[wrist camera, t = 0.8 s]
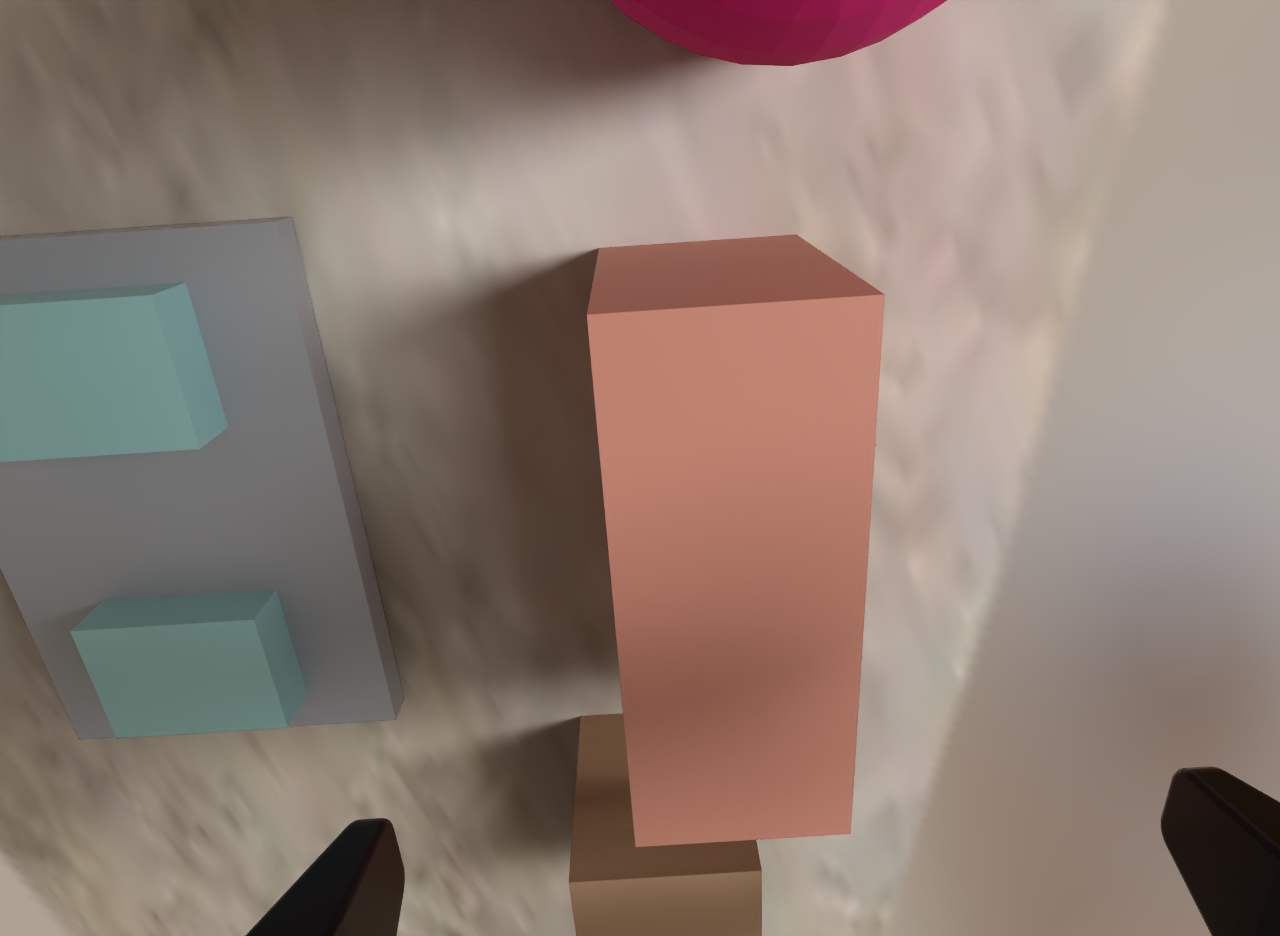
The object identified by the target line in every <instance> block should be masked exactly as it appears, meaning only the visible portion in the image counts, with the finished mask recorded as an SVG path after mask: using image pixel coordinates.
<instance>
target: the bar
mask: <svg viewBox="0 0 1280 936" xmlns="http://www.w3.org/2000/svg"><path fill="white" fill-rule="evenodd" d="M884 297H885V294H883V293H882V292H880V291H879V290H877V289H876V288H874V287H873V286H871V285H870V284H868V283H867V282H865V281H864V280H862V279H861V278H859V277H858V276H857V275H855V274H854V273H852V272H851V271H849V270H848V269H846V268H845V267H843V266H842V265H840V264H839V263H837V262H836V261H834V260H833V259H831V258H830V257H828V256H827V255H826V254H824V253H823V252H821V251H820V250H818V249H817V248H815V247H814V246H812V245H811V244H809V243H808V242H806V241H805V240H803V239H802V238H800V237H799V236H798V235H785V236H771V237H756V238H741V239H726V240H712V241H697V242H682V243H668V244H653V245H638V246H624V247H609V248H599V251H598V256H597V262H596V267H595V273H594V278H593V283H592V289H591V294H590V300H589V305H588V310H587V323H588V334H589V345H590V356H591V367H592V378H593V389H594V400H595V411H596V422H597V432H598V443H599V454H600V465H601V476H602V487H603V498H604V509H605V520H606V531H607V541H608V552H609V563H610V574H611V585H612V596H613V607H614V618H615V629H616V640H617V650H618V661H619V672H620V683H621V694H622V705H623V716H624V727H625V738H626V749H627V760H628V770H629V781H630V792H631V803H632V814H633V825H634V836H635V847H646V846H662V845H678V844H694V843H711V842H727V841H743V840H759V839H775V838H791V837H807V836H824V835H840V834H851V819H852V803H853V788H854V772H855V756H856V740H857V724H858V708H859V692H860V677H861V661H862V645H863V629H864V613H865V597H866V582H867V566H868V550H869V534H870V518H871V502H872V487H873V471H874V455H875V439H876V423H877V407H878V392H879V376H880V360H881V344H882V328H883V312H884Z"/></svg>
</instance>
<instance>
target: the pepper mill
mask: <svg viewBox="0 0 1280 936" xmlns="http://www.w3.org/2000/svg"><path fill="white" fill-rule="evenodd" d="M610 1H611V2H612V3H614V4H615V5H616V6H617V7H618V8H619V9H620V10H621V11H622V12H624V13H625V14H626V15H627V16H628V17H630V18H631V19H633V20H635V21H636V22H638V23H639V24H641V25H642V26H644V27H646V28H647V29H649V30H650V31H652V32H653V33H655V34H656V35H658V36H660V37H661V38H663V39H665V40H667V41H669V42H672V43H674V44H676V45H679V46H681V47H684V48H686V49H688V50H691V51H693V52H695V53H698V54H700V55H703V56H707V57H712V58H716V59H721V60H725V61H729V62H734V63H738V64H746V65H777V66H794V65H799V64H804V63H809V62H815V61H820V60H825V59H831V58H836V57H841V56H843V55H846V54H849V53H851V52H854V51H856V50H859V49H862V48H864V47H867V46H869V45H872V44H875V43H877V42H880V41H882V40H884V39H885V38H887V37H889V36H891V35H892V34H894V33H896V32H897V31H899V30H901V29H903V28H904V27H906V26H908V25H910V24H911V23H913V22H915V21H916V20H918V19H920V18H922V17H923V16H924V15H926V14H927V13H929V12H930V11H932V10H933V9H935V8H936V7H938V6H939V5H941V4H942V3H944V2H945V1H947V0H610Z"/></svg>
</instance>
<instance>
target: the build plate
mask: <svg viewBox="0 0 1280 936" xmlns="http://www.w3.org/2000/svg"><path fill="white" fill-rule="evenodd" d="M0 569H1V571H2V573H3V575H4V577H5V580H6V582H7V584H8V586H9V588H10V590H11V593H12V595H13V597H14V599H15V601H16V604H17V606H18V608H19V610H20V612H21V614H22V617H23V619H24V621H25V623H26V625H27V628H28V630H29V632H30V634H31V636H32V638H33V641H34V643H35V645H36V647H37V649H38V652H39V654H40V656H41V658H42V660H43V662H44V665H45V667H46V669H47V671H48V673H49V676H50V678H51V680H52V682H53V684H54V686H55V689H56V691H57V693H58V695H59V697H60V700H61V702H62V704H63V706H64V708H65V710H66V713H67V715H68V717H69V719H70V721H71V724H72V726H73V728H74V730H75V732H76V734H77V737H78V739H79V740H81V739H97V738H113V737H116V738H131V737H147V736H163V735H179V734H195V733H211V732H226V731H242V730H258V729H274V728H288V727H289V726H304V725H320V724H336V723H352V722H368V721H384V720H396V718H397V716H398V713H399V710H400V708H401V705H402V702H403V700H404V696H403V691H402V687H401V683H400V679H399V674H398V670H397V666H396V662H395V657H394V653H393V649H392V644H391V640H390V636H389V632H388V627H387V623H386V619H385V614H384V610H383V606H382V602H381V597H380V593H379V589H378V584H377V580H376V576H375V572H374V567H373V563H372V559H371V554H370V550H369V546H368V542H367V537H366V533H365V529H364V524H363V520H362V516H361V512H360V507H359V503H358V499H357V495H356V490H355V486H354V482H353V477H352V473H351V469H350V465H349V460H348V456H347V452H346V447H345V443H344V439H343V435H342V430H341V426H340V422H339V417H338V413H337V409H336V405H335V400H334V396H333V392H332V387H331V383H330V379H329V375H328V370H327V366H326V362H325V357H324V353H323V349H322V345H321V340H320V336H319V332H318V328H317V323H316V319H315V315H314V310H313V306H312V302H311V298H310V293H309V289H308V285H307V280H306V276H305V272H304V268H303V263H302V259H301V255H300V250H299V246H298V242H297V238H296V233H295V229H294V225H293V220H292V217H282V218H267V219H253V220H238V221H223V222H209V223H194V224H179V225H165V226H150V227H135V228H121V229H106V230H91V231H77V232H62V233H47V234H33V235H18V236H3V237H0Z"/></svg>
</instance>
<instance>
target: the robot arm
mask: <svg viewBox="0 0 1280 936" xmlns="http://www.w3.org/2000/svg"><path fill="white" fill-rule="evenodd" d="M1161 831H1162V835H1163V838H1164V841H1165V844H1166V846H1167V848H1168V850H1169V852H1170V854H1171V856H1172V858H1173V860H1174V862H1175V864H1176V866H1177V867H1178V869H1179V872H1180V874H1181V875H1182V878H1183V879H1184V882H1185V883H1186V885H1187V887H1188V889H1189V891H1190V893H1191V895H1192V897H1193V899H1194V901H1195V903H1196V905H1197V907H1198V909H1199V911H1200V913H1201V915H1202V917H1203V919H1204V921H1205V923H1206V925H1207V927H1208V929H1209V931H1210V933H1211V935H1212V936H1280V802H1278V801H1277V800H1275V799H1273V798H1271V797H1270V796H1268V795H1266V794H1264V793H1263V792H1261V791H1259V790H1257V789H1256V788H1254V787H1252V786H1250V785H1249V784H1247V783H1245V782H1243V781H1242V780H1240V779H1238V778H1236V777H1235V776H1233V775H1231V774H1229V773H1227V772H1226V771H1224V770H1222V769H1219V768H1216V767H1193V768H1182V769H1179V770H1178V771H1177V772H1176V773H1175V774H1174V775H1173V777H1172V781H1171V784H1170V788H1169V791H1168V795H1167V798H1166V802H1165V806H1164V809H1163V813H1162V816H1161ZM404 883H405V873H404V866H403V862H402V858H401V854H400V851H399V847H398V843H397V839H396V835H395V831H394V828H393V825H392V823H391V822H390V820H388V819H385V818H379V819H363V820H356V821H354V822H352V823H351V824H349V825H348V826H347V827H346V828H345V829H344V831H343V832H342V833H341V834H340V835H339V836H338V837H337V838H336V839H335V840H334V841H333V842H332V843H331V844H330V846H329V847H328V848H327V849H326V850H325V851H324V852H323V853H322V854H321V855H320V856H319V857H318V858H317V859H316V861H315V862H314V863H313V864H312V865H311V866H310V867H309V868H308V869H307V870H306V871H305V872H304V873H303V875H302V876H301V877H300V878H299V879H298V880H297V881H296V882H295V883H294V884H293V885H292V886H291V887H290V888H289V890H288V891H287V892H286V893H285V894H284V895H283V896H282V897H281V898H280V899H279V900H278V901H277V902H276V904H275V905H274V906H273V907H272V908H271V909H270V910H269V911H268V912H267V913H266V914H265V915H264V916H263V917H262V919H261V920H260V921H259V922H258V923H257V924H256V925H255V926H254V927H253V928H252V929H251V930H250V931H249V932H248V934H247V935H246V936H396V935H397V929H398V923H399V917H400V911H401V905H402V898H403V892H404Z"/></svg>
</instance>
